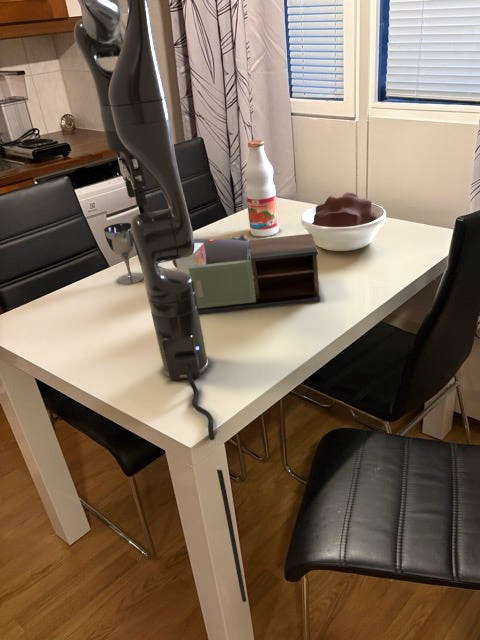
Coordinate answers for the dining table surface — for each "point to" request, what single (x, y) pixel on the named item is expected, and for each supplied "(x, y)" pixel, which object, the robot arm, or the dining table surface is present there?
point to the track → (271, 301)
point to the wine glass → (122, 247)
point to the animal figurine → (239, 238)
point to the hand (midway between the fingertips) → (137, 201)
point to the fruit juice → (260, 192)
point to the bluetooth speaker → (224, 250)
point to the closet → (284, 268)
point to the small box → (192, 259)
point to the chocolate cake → (343, 222)
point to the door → (223, 283)
